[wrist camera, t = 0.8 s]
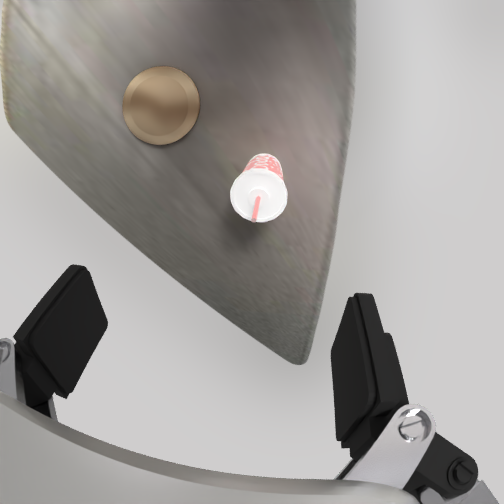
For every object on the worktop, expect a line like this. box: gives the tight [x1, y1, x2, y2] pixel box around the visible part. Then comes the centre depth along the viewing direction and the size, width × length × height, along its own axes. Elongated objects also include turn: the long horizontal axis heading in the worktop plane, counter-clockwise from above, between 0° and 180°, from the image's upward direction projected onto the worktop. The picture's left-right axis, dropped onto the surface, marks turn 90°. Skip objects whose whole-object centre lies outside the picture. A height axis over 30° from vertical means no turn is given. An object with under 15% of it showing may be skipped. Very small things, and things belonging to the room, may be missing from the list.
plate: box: [122, 66, 200, 145], centre depth 33 cm, size 11×11×1 cm
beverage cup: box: [230, 154, 287, 222], centre depth 32 cm, size 6×6×14 cm
